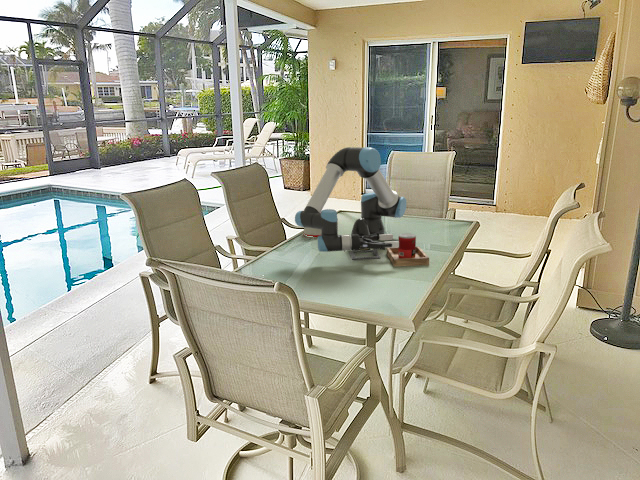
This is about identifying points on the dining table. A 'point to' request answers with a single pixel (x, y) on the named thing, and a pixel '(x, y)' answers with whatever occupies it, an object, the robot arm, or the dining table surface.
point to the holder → (364, 257)
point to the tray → (418, 260)
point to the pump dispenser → (360, 228)
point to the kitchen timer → (312, 232)
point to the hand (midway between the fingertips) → (395, 240)
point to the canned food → (407, 245)
